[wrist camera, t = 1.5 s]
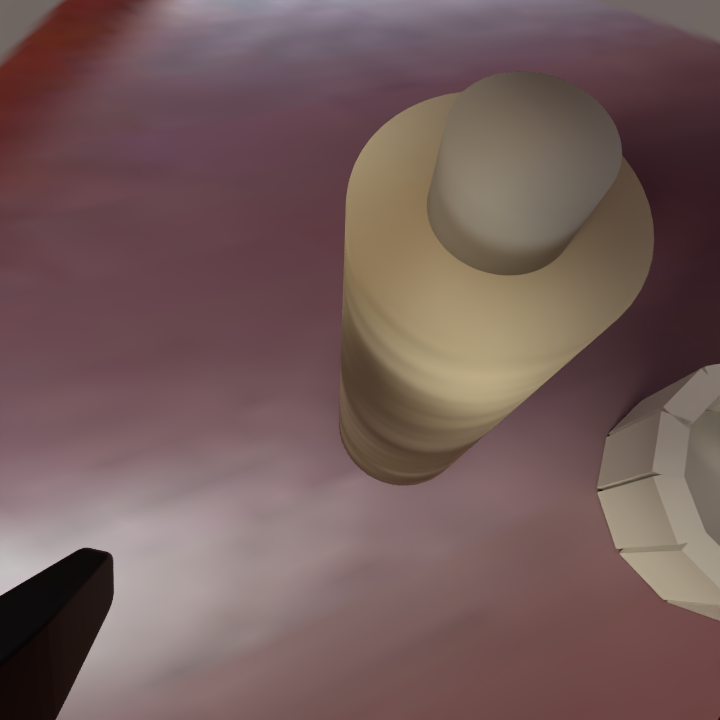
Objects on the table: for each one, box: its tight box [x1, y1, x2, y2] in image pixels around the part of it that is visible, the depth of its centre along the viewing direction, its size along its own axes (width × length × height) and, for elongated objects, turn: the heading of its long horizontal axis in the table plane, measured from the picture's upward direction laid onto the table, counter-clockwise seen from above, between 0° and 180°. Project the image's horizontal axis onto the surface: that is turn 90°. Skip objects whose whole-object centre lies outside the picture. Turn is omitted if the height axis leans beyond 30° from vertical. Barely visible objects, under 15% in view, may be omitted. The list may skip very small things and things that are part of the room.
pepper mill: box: [339, 71, 654, 485], centre depth 15 cm, size 5×5×16 cm
